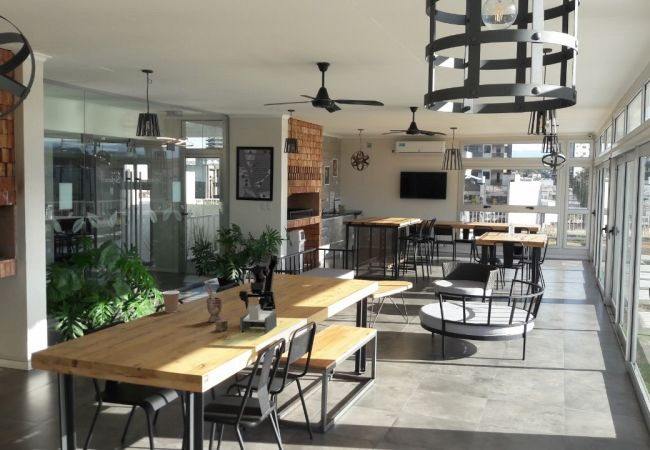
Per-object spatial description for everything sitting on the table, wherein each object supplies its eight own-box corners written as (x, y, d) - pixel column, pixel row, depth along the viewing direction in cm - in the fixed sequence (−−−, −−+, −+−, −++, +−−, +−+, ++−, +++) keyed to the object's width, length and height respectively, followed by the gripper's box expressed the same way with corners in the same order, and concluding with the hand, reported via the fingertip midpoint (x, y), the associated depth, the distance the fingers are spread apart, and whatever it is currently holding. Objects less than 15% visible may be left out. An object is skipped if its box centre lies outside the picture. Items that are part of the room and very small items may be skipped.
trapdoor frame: (251, 324, 350) (250, 310, 349) (276, 326, 346) (276, 311, 346) (240, 331, 334) (240, 317, 333) (266, 333, 330) (266, 318, 330)
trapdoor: (253, 315, 349) (253, 309, 348) (273, 316, 346) (273, 310, 346) (243, 325, 334) (243, 319, 334) (264, 326, 331) (264, 320, 331)
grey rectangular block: (251, 316, 337) (251, 304, 336) (260, 316, 337) (260, 304, 335) (249, 319, 332) (248, 307, 331) (258, 319, 332) (257, 307, 330)
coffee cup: (182, 309, 392) (181, 290, 391) (176, 313, 382) (176, 293, 381) (166, 309, 393) (165, 290, 392) (160, 313, 383) (159, 293, 382)
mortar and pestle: (199, 321, 360) (199, 286, 358) (209, 318, 367) (208, 284, 366) (216, 323, 354) (215, 288, 353) (225, 320, 362) (224, 286, 360)
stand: (222, 328, 342) (222, 319, 341) (227, 329, 339) (227, 320, 338) (215, 330, 338) (215, 320, 338) (221, 331, 335) (220, 322, 335)
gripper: (239, 276, 338) (234, 300, 328) (273, 276, 335) (269, 301, 325) (243, 288, 346) (238, 311, 336) (276, 288, 344) (272, 312, 334)
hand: (254, 309), depth 333 cm, fingers open, 8 cm apart
